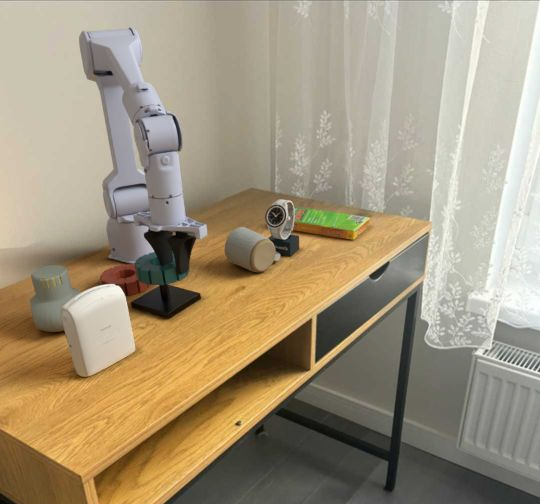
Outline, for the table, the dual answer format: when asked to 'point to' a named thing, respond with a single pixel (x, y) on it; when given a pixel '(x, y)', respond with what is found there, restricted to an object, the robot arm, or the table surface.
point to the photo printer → (97, 328)
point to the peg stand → (165, 300)
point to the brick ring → (123, 279)
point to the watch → (282, 227)
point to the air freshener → (50, 296)
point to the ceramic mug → (250, 250)
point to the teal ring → (156, 271)
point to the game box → (329, 223)
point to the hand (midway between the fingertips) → (175, 270)
